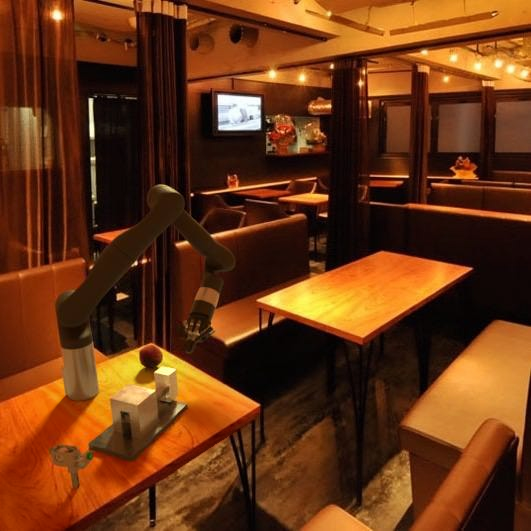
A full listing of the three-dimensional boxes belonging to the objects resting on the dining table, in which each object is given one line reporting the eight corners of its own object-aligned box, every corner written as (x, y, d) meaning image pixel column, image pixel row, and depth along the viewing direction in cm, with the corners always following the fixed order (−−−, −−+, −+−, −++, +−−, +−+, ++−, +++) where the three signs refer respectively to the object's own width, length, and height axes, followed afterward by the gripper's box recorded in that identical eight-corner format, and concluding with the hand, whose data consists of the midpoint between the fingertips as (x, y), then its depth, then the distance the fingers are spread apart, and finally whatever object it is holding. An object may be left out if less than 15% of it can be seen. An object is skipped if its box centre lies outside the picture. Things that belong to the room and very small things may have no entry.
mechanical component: (92, 493, 115) (87, 456, 112) (52, 487, 116) (46, 451, 114) (99, 484, 117) (94, 448, 114) (60, 479, 119) (54, 443, 116)
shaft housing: (88, 448, 130) (83, 410, 127) (148, 398, 153) (145, 364, 150) (132, 462, 125) (128, 422, 121) (187, 408, 148) (185, 373, 144)
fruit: (165, 362, 176) (163, 341, 174) (161, 372, 168) (159, 351, 166) (143, 362, 176) (141, 341, 174) (137, 373, 168) (135, 351, 166)
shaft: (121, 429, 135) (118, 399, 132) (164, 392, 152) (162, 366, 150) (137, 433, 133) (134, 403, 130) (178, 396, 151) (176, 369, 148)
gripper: (183, 296, 165) (165, 345, 158) (218, 301, 160) (201, 351, 153) (192, 306, 172) (175, 353, 164) (226, 311, 167) (210, 360, 159)
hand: (188, 352), depth 159 cm, fingers closed
